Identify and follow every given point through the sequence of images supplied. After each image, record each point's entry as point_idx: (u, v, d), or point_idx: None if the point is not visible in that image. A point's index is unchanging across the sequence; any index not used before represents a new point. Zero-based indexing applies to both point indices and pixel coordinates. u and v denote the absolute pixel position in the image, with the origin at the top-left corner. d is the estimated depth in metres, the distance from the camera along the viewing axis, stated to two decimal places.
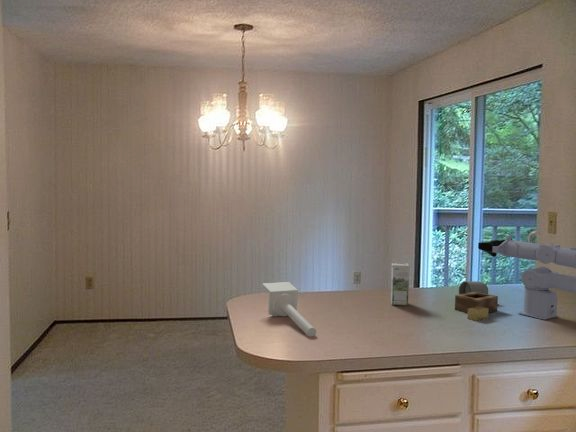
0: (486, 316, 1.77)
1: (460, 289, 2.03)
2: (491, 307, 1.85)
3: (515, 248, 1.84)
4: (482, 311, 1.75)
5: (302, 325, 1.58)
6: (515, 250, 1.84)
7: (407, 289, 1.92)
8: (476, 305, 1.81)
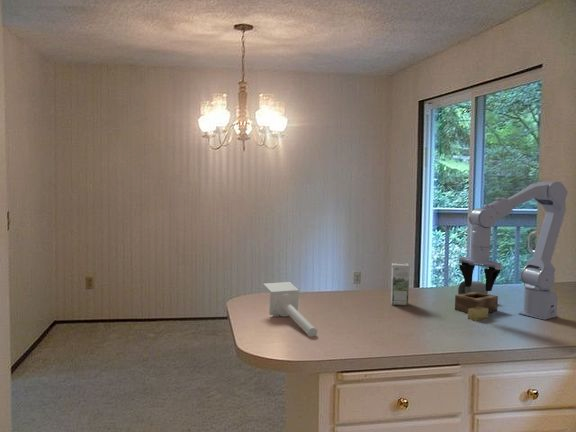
0: (486, 316, 1.77)
1: (459, 289, 2.03)
2: (491, 307, 1.85)
3: (486, 249, 1.73)
4: (482, 311, 1.75)
5: (303, 325, 1.58)
6: (488, 249, 1.73)
7: (407, 289, 1.92)
8: (476, 305, 1.81)
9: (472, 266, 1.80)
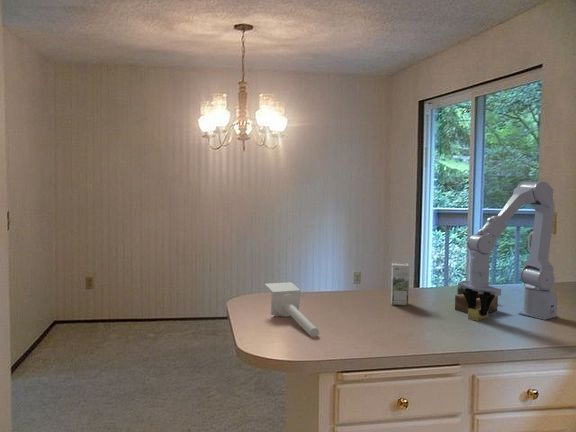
0: (486, 315, 1.77)
1: (459, 289, 2.04)
2: (491, 307, 1.85)
3: (485, 275, 1.73)
4: None
5: (305, 326, 1.58)
6: (487, 275, 1.74)
7: (407, 289, 1.92)
8: (476, 305, 1.81)
9: (476, 292, 1.79)
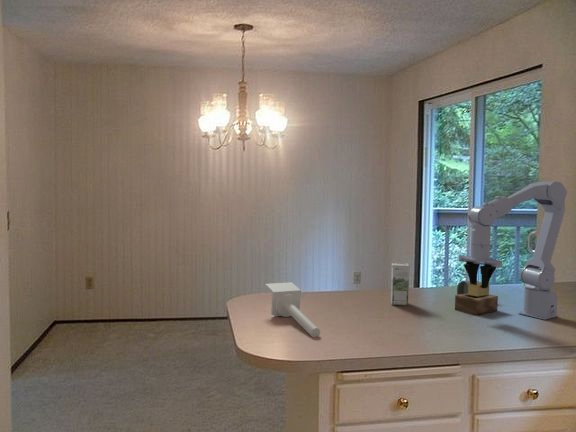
0: (487, 292, 1.76)
1: (458, 288, 2.04)
2: (491, 307, 1.85)
3: (486, 247, 1.73)
4: None
5: (305, 326, 1.58)
6: (488, 247, 1.73)
7: (407, 289, 1.92)
8: (476, 305, 1.81)
9: (477, 265, 1.78)
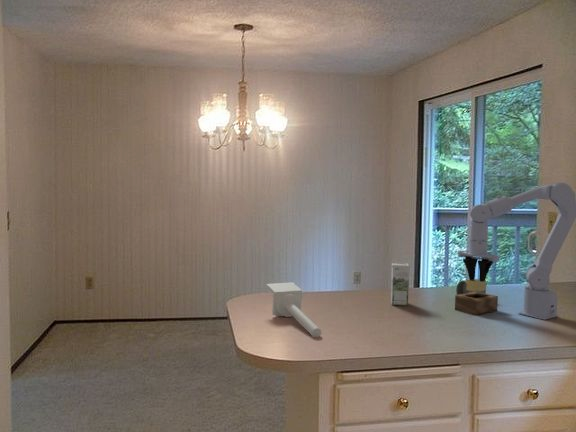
0: (484, 287, 1.87)
1: (458, 288, 2.04)
2: (491, 307, 1.85)
3: (484, 243, 1.83)
4: (480, 282, 1.85)
5: (307, 326, 1.58)
6: (486, 243, 1.84)
7: (407, 289, 1.92)
8: (476, 305, 1.81)
9: (475, 260, 1.89)
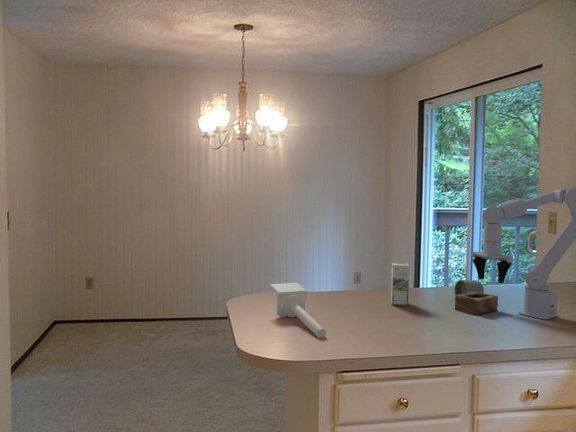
0: None
1: (456, 288, 2.06)
2: (491, 307, 1.85)
3: (498, 244, 1.85)
4: None
5: (311, 326, 1.57)
6: (500, 244, 1.85)
7: (407, 289, 1.92)
8: (476, 305, 1.81)
9: (484, 260, 1.92)
